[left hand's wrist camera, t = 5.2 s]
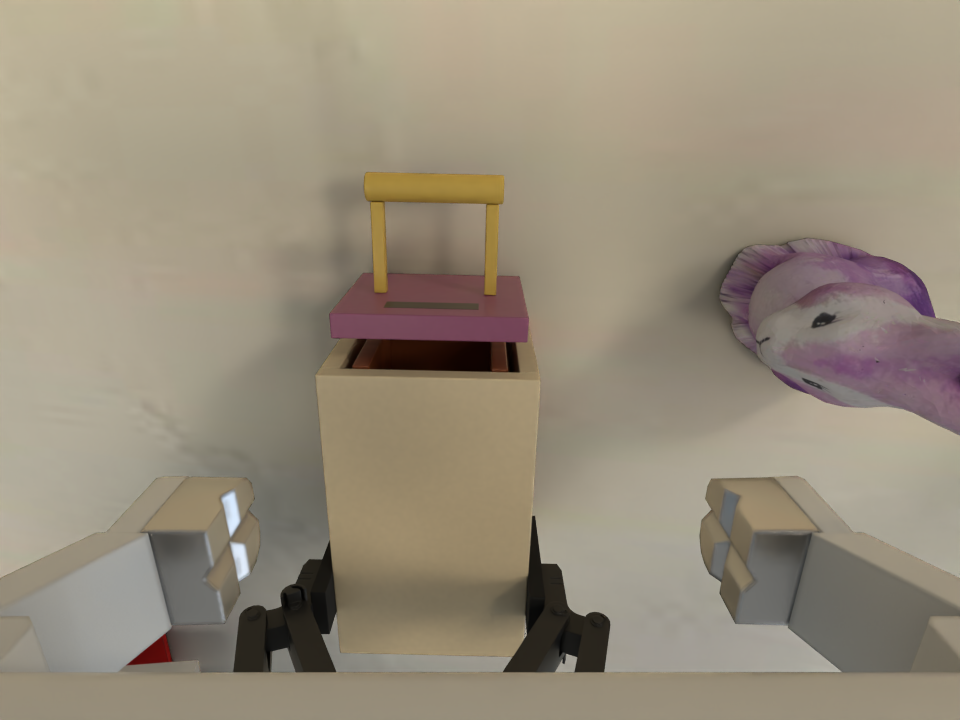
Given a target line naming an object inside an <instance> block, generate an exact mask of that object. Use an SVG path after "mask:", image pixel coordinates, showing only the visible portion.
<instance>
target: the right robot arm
mask: <svg viewBox="0 0 960 720" xmlns="http://www.w3.org/2000/svg"><path fill="white" fill-rule="evenodd" d="M281 604H282V606H281V607H279V608H276V609H273V610H268V611H266V609H265V608H264V607H263V606H259V605H256V606H251V607H248V608H247V609H245V610H244V611H243V612H242V613H241V615H240V617H239V626H238V635H237V644H236V653H235V662H234V671H233V672H271V664H272V651H275V650H279V649H283V648H287V647H288V650H289V653H290V656H291V660H292V663H293V666H294V669H295V672H336V670H335V668H334V665H333V663H332V660H331V658H330V655H329V653H328V650H327V648H326V645H325V643H324V640H323V638H322V635H321V634H330V631H331V627H332V624H333V621H334V618H335V614H336V601H335V590H334V579H333V569H332V558H331V547H330V541H329V543H328V546H327V549H326V551H325V554H324V557H323V559H322V560H320V559H309V560H308V561H307V562H306V563H305V564H304V565H303V567H302V570H301V572H300V575H299V577H298V579H297V582H296V584H292V585H289V586H287V587H285V588H284V589H283V590H282V592H281ZM525 616H526V628H527V636H526V637H525V639H524V640H523V642H522V644H521V645H520V647H519V648H518V650H517V651H516V653H515V654H514V656H513V657H512V659H511V660H510V662H509V663H508V665H507V666H506V668H505V669H504V671H503V672H555V671H556V669H557V667H558V666H559V664H560V662H561V660H562V659H563V662H562V663H563V664H565V660H566V654H569V655H572V656H576V657H577V663H576V668H575V672H604V669H605V661H606V654H607V646H608V639H609V631H610V621H609V619H608V617H606V616H605V615H604V614H601V613H599V612H592V613H589V614H587V615H586V617H584V616H581V615H578V614H576V613H574V612H572V611H571V610H570V608H569V607H568V605H567V600H566V594H565V589H564V583H563V577H562V571H561V569H560V568H559V567H558V565H557V564H541V560H540V552H539V544H538V536H537V528H536V520H535V516H532V524H531V539H530V555H529V570H528V583H527V599H526V614H525Z"/></svg>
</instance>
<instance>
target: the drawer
mask: <svg viewBox="0 0 960 720" xmlns="http://www.w3.org/2000/svg"><path fill="white" fill-rule="evenodd" d="M364 194H365V198H366V200H367V201H372V202H370V208H371V229H372V250H373V271H374V273H363V274H362V275H361V276H360V278H359V279H358V280H357V281H356V282H355V284H354V285H353V286H352V287H351V288H350V289H349V291H348V292H347V293H346V294H345V295H344V297H343V298H342V299H341V300H340V301H339V303H338V304H337V305H336V306H335V307H334V309H333V310H332V311H331V312H330V314H329V317H330V330H331V338H347V339H367V341H366V342H365V344H364V346H363V348H362V350H361V351H360V353H359V355H358V357H357V358H356V360H355V362H354V364H353V366H352V369H380V370H424V371H468V372H508V362H507V351H506V342H524V343H526V342H528V327H529V317H528V312H527V308H526V304H525V299H524V295H523V290H522V286H521V282H520V277H519V276H497V252H498V221H499V204H503V200H504V176H503V175H471V174H427V173H382V172H366V173H365V176H364ZM385 202H425V203H469V204H486V238H485V276H476V275H432V274H387V252H386V226H385Z"/></svg>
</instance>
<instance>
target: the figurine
mask: <svg viewBox="0 0 960 720" xmlns="http://www.w3.org/2000/svg"><path fill="white" fill-rule="evenodd" d="M719 298H720V301H721V304H722V306H723V307H724V308H725V310H726V311H727V312H728V313H729V314H730V315H731V317H732V323H731V326H732V330H733V332H734V334H735V337H736V338H737V339H738V340H739V341H740V342H741V343H743V344H744V345H745V346H746V347H747V348H749V349H750V350H752V351H753V352H754V353H756V354H757V355H758V356H759V358H760V360H761V361H762V362H763V363H764V364H766V365H767V366H768V367H770V368H771V370H772V372H773V373H774V375H776V376H777V377H778V378H779V379H780V380H781V381H783V382H784V383H785V384H787V385H788V386H790V387H792V388H794V389H796V390H799V391H802V392H804V393H807V394H811V395H812V396H814V397H816V398H818V399H819V400H821V401H824V402H826V403H830V404H834V405H839V406H844V407H860V408H869V407H886V406H888V407H893V408H899V409H904V410H907V411H910V412H913V413H915V414H917V415H919V416H921V417H923V418H925V419H927V420H929V421H931V422H933V423H934V424H936V425H938V426H941V427H943V428H945V429H947V430H950V431H952V432H953V433H955V434H958V435H960V323H959V322H954V321H949V320H944V319H939V318H936V317H935V314H934V311H933V307H932V304H931V301H930V298H929V295H928V292H927V289H926V287H925V284H924V283H923V281H922V280H921V279H920V278H919V277H918V276H917V275H916V274H915V273H914V272H912V271H911V270H910V269H908V268H907V267H905V266H904V265H902V264H900V263H898V262H896V261H893V260H890V259H887V258H884V257H877V256H872V255H870V254H868V253H866V252H864V251H862V250H859V249H856V248H852V247H849V246H846V245H842V244H838V243H835V242H831V241H825V240H817V239H808V238H805V239H801V240H796V241H792V242H787V244H784V245H782V246H778V245H775V246H772V245H754V246H750V247H747V248H745V249H744V250H743V251H742V252H741V253H740V254H738V257H737V258H736V259H735V262H733V266H731V270H729V274H727V275H726V278H725V279H724V282H723V283H722V287H721V289H720V295H719Z"/></svg>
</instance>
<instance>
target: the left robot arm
mask: <svg viewBox="0 0 960 720" xmlns="http://www.w3.org/2000/svg"><path fill="white" fill-rule="evenodd" d="M254 499H255V498H254V493H253V488H252V483H251V482H250V481H249V480H248V479H247V478H235V477H188V476H172V477H160V478H156V479H155V480H154V481H153V483H152V484H151V485H150V486H149V487H148V488H147V489H146V490H145V491H144V492H143V493H142V494H141V495H140V496H139V498H138V499H137V500H136V501H135V502H134V503H133V504H132V505H131V506H130V507H129V508H128V509H127V510H126V511H125V513H124V514H123V515H122V516H121V517H120V518H119V519H118V520H117V521H116V522H115V523H114V524H113V525H112V526H111V528H110V529H109V530H108V531H107V532H106V533H95V534H92V535H90V536H88V537H86V538H84V539H82V540H80V541H78V542H76V543H73V544H71V545H69V546H67V547H65V548H63V549H61V550H59V551H57V552H54V553H52V554H50V555H48V556H46V557H44V558H42V559H40V560H38V561H35V562H33V563H31V564H29V565H27V566H25V567H23V568H21V569H19V570H16V571H14V572H12V573H10V574H8V575H6V576H4V577H2V578H0V720H960V578H958V577H956V576H954V575H952V574H950V573H948V572H945V571H943V570H941V569H939V568H937V567H935V566H933V565H931V564H929V563H927V562H924V561H922V560H920V559H918V558H916V557H914V556H912V555H910V554H908V553H905V552H903V551H901V550H899V549H897V548H895V547H893V546H891V545H889V544H886V543H884V542H882V541H880V540H878V539H876V538H874V537H872V536H870V535H868V534H865V533H854V532H853V531H852V530H851V529H850V528H849V526H848V525H847V524H846V523H845V522H844V521H843V520H842V519H841V518H840V517H839V516H838V515H837V514H836V512H835V511H834V510H833V509H832V508H831V507H830V506H829V505H828V504H827V503H826V502H825V501H824V500H823V499H822V497H821V496H820V495H819V494H818V493H817V492H816V491H815V490H814V489H813V488H812V487H811V486H810V485H809V484H808V482H807V481H806V480H805V479H803V478H800V477H798V476H784V477H762V478H719V479H711V480H710V482H709V484H708V486H707V492H706V497H705V499H706V501H707V503H708V504H709V506H710V508H711V509H712V510H711V511H710V512H709V513H708V514H707V515H706V516H705V517H704V518H703V519H702V521H701V529H700V547H701V554H702V557H703V561H704V564H705V566H706V568H707V570H708V572H709V574H710V575H712V576H713V577H715V578H716V579H718V580H719V581H721V588H720V595H721V597H722V599H723V601H724V603H725V605H726V607H727V609H728V610H729V612H730V614H731V616H732V618H733V620H734V622H735V624H759V625H789V626H788V628H789V629H790V630H792V631H793V632H794V633H795V634H796V635H798V636H799V637H800V638H801V639H803V640H804V641H805V642H806V643H807V644H809V645H810V646H811V647H812V648H814V649H815V650H816V651H817V652H819V653H820V654H821V655H822V656H823V657H825V658H826V659H827V660H828V661H830V662H831V663H832V664H833V665H835V666H836V667H837V668H838V669H839V670H841V671H842V672H118V671H120V670H121V669H122V668H123V667H124V666H126V665H127V664H128V663H129V662H131V661H132V660H133V659H134V658H136V657H137V656H138V655H139V654H140V653H142V652H143V651H144V650H145V649H147V648H148V647H149V646H150V645H152V644H153V643H154V642H155V641H156V640H158V639H159V638H160V637H161V636H163V635H164V634H165V633H166V632H168V631H169V630H170V629H171V628H172V626H171V625H200V624H225V622H226V620H227V618H228V616H229V614H230V612H231V611H232V609H233V607H234V605H235V603H236V601H237V599H238V597H239V595H240V588H239V581H241V580H242V579H244V578H245V577H247V576H248V575H250V574H251V572H252V570H253V568H254V566H255V563H256V561H257V557H258V552H259V548H260V528H259V521H258V519H257V518H256V517H255V516H254V515H253V514H252V513H251V512H250V511H249V510H248V509H249V508H250V506H251V504H252V503H253V501H254Z"/></svg>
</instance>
